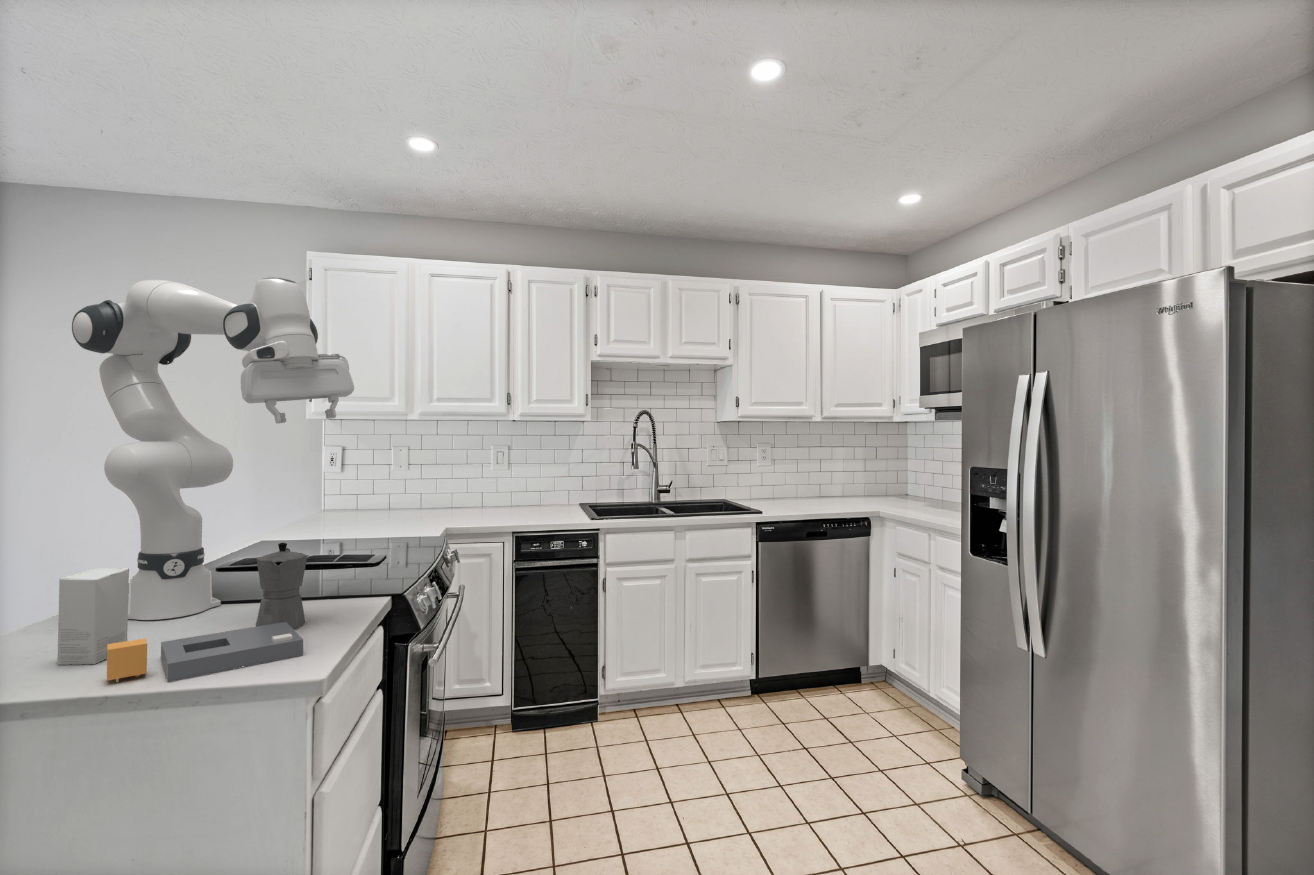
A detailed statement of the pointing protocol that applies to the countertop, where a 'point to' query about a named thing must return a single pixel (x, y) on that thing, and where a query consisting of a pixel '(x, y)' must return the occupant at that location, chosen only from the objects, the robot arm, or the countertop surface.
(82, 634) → the skincare box
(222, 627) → the countertop surface
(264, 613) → the coffeepot
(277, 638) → the socket plate
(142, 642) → the plug
